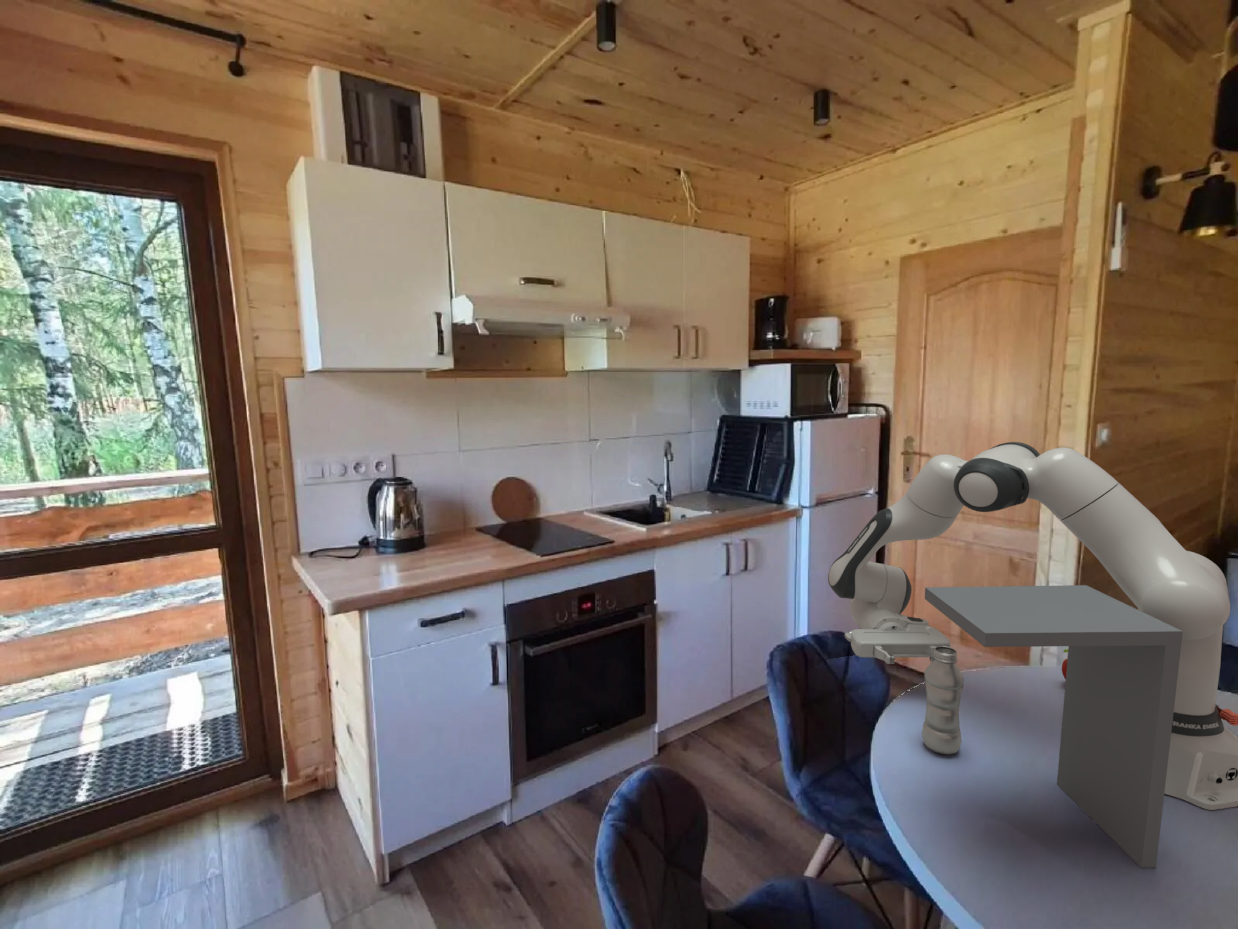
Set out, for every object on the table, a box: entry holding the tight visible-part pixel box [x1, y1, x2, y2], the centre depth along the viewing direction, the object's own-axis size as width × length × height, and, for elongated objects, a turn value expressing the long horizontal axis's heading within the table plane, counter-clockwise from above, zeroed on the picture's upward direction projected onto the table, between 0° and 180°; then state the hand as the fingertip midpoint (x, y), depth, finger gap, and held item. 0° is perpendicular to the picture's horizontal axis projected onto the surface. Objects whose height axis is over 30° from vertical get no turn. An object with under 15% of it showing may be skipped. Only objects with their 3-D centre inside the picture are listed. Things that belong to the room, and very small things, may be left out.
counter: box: [924, 584, 1183, 869], centre depth 94 cm, size 26×18×36 cm
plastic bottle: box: [921, 646, 965, 755], centre depth 114 cm, size 6×7×20 cm
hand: (914, 660), depth 125 cm, fingers open, 8 cm apart
